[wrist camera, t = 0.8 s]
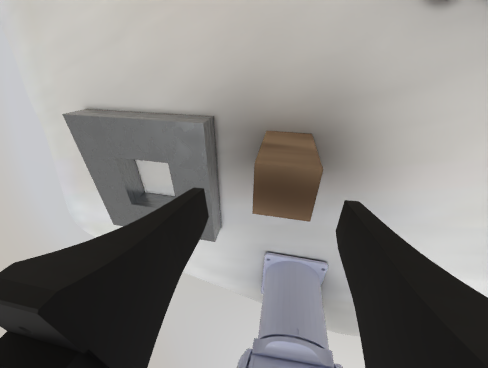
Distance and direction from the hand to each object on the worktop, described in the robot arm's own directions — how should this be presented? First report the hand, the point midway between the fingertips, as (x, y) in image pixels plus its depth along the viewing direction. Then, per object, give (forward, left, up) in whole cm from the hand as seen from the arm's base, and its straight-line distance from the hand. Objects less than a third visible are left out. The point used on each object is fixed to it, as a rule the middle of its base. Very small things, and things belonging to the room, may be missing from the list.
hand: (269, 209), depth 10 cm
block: (-1, -1, -10) cm, 10 cm away
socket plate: (-5, +13, -10) cm, 17 cm away
